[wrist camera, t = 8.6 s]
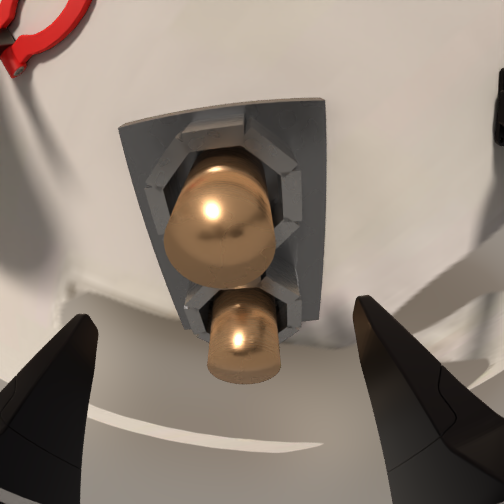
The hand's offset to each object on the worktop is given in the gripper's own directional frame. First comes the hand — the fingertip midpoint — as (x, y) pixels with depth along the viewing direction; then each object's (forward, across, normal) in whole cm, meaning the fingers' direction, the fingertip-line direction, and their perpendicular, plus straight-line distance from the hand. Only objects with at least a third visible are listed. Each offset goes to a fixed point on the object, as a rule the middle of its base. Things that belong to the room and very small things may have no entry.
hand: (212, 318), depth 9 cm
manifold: (+12, 0, +5) cm, 13 cm away
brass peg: (+11, 0, 0) cm, 11 cm away
